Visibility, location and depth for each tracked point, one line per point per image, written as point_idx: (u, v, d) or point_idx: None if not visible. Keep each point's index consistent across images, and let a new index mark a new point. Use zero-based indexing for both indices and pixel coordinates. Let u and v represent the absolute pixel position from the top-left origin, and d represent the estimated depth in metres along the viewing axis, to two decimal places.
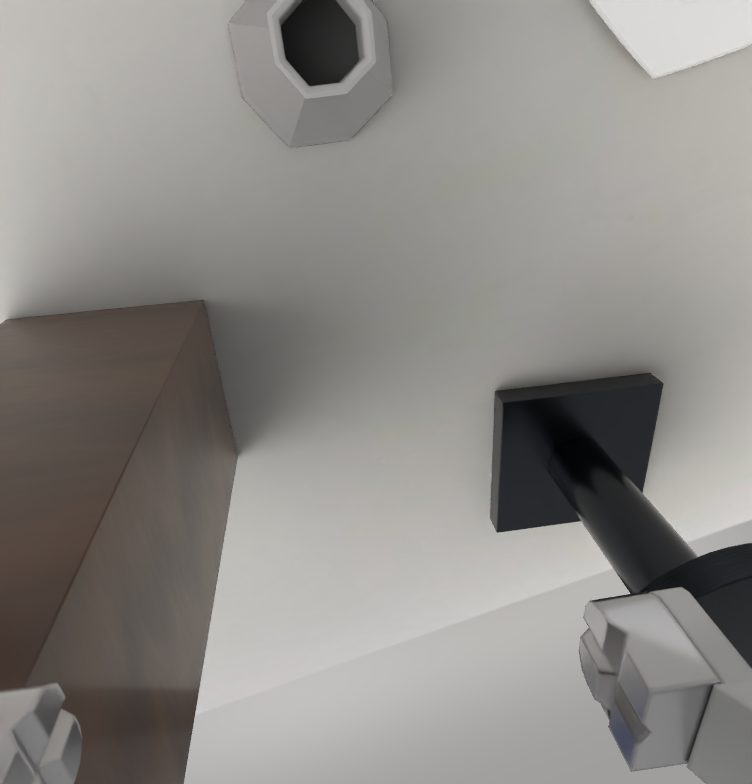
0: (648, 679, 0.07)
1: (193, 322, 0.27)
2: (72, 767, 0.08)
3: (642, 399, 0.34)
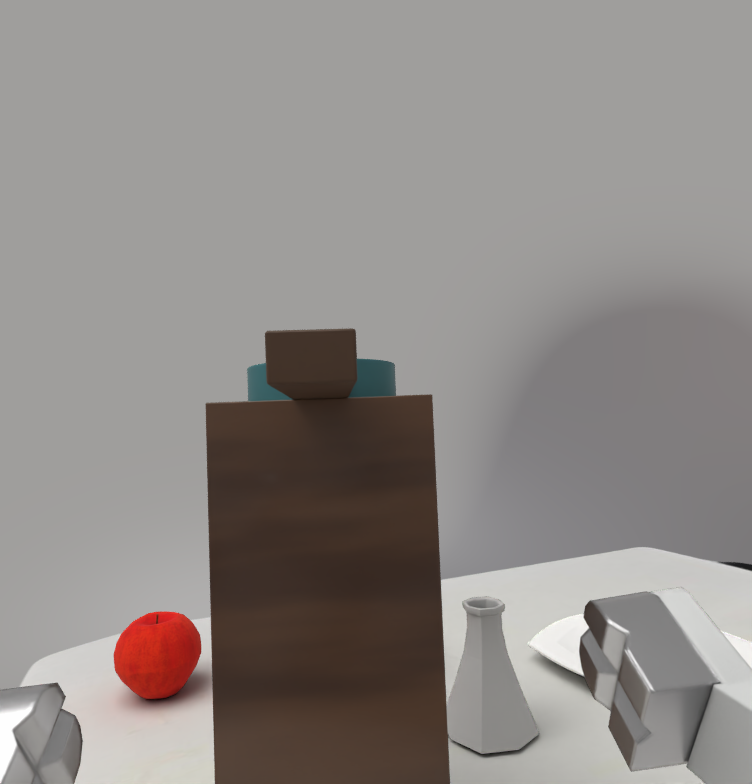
0: (648, 679, 0.07)
1: None
2: (72, 767, 0.08)
3: None
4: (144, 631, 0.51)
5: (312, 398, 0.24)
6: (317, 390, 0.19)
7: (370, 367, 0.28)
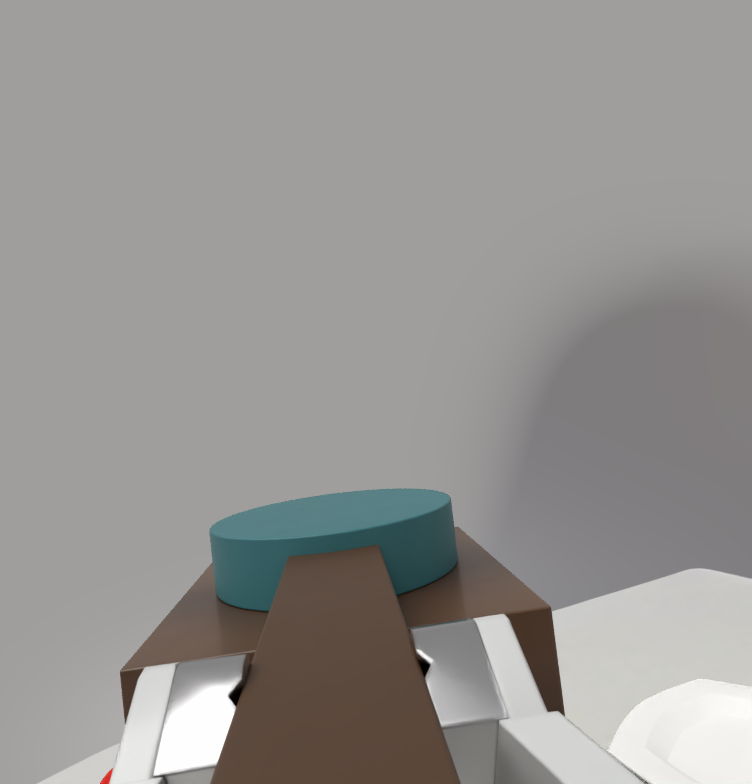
0: None
1: None
2: None
3: None
4: None
5: None
6: None
7: (418, 530, 0.16)
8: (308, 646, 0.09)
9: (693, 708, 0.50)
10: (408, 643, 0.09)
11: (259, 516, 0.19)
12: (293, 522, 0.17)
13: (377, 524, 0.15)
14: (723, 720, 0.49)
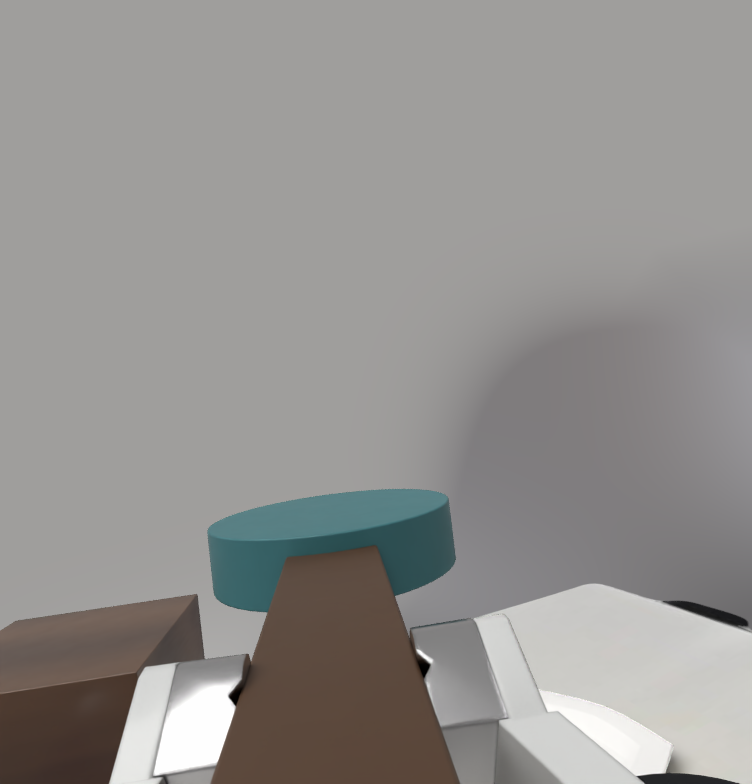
0: (436, 714, 0.07)
1: None
2: None
3: None
4: None
5: None
6: None
7: (416, 530, 0.16)
8: (306, 648, 0.09)
9: None
10: (407, 644, 0.09)
11: (257, 517, 0.19)
12: (291, 523, 0.17)
13: (375, 525, 0.16)
14: None
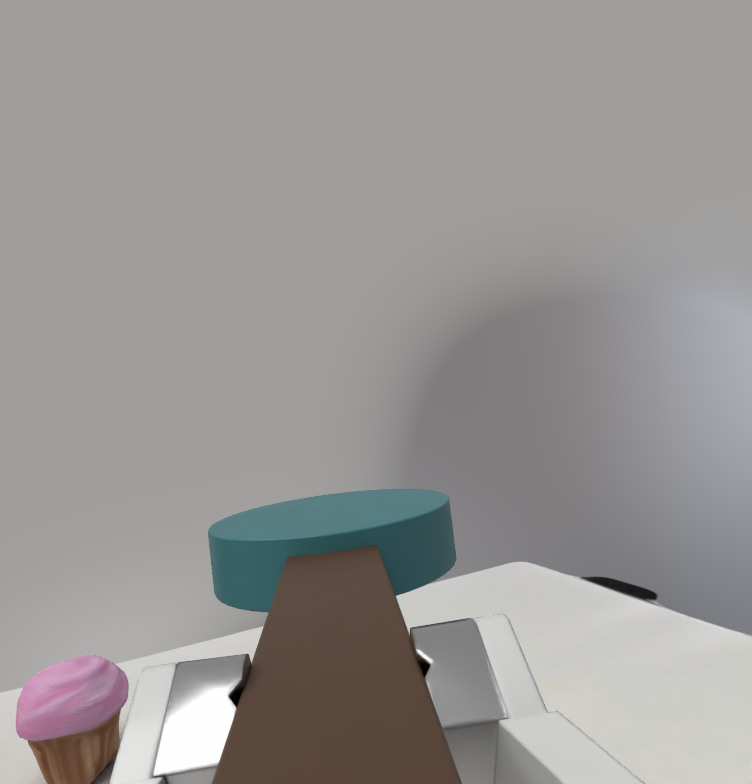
0: None
1: None
2: None
3: None
4: None
5: None
6: None
7: (417, 530, 0.16)
8: (308, 647, 0.09)
9: None
10: (408, 643, 0.09)
11: (258, 517, 0.19)
12: (292, 523, 0.17)
13: (376, 524, 0.16)
14: None
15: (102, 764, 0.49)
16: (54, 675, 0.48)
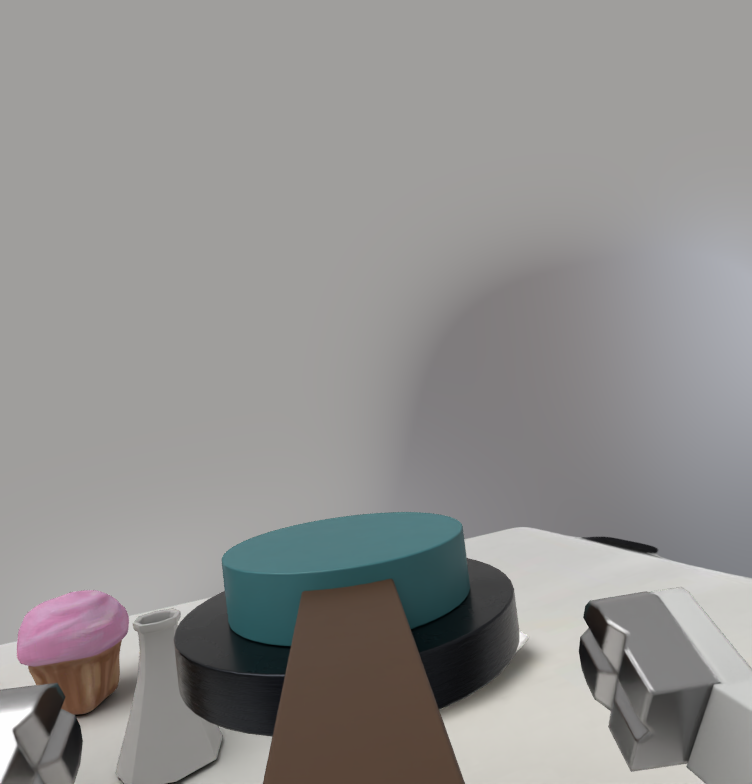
0: (648, 679, 0.07)
1: None
2: (72, 768, 0.08)
3: None
4: None
5: None
6: None
7: (432, 562, 0.16)
8: (331, 705, 0.09)
9: None
10: (432, 704, 0.09)
11: (270, 544, 0.19)
12: (306, 553, 0.17)
13: (391, 558, 0.15)
14: None
15: (102, 694, 0.49)
16: (55, 604, 0.49)
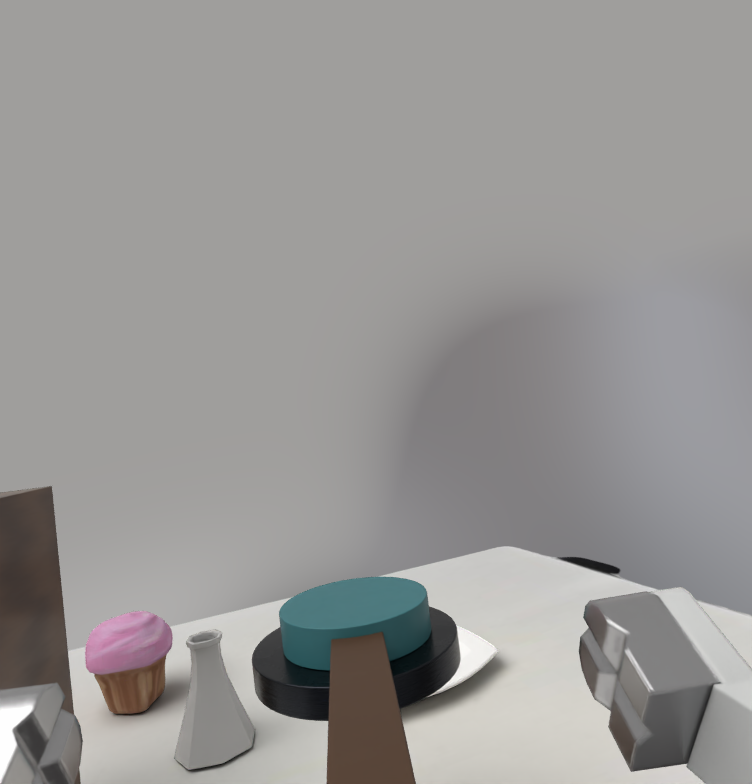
0: (648, 679, 0.07)
1: None
2: (72, 768, 0.08)
3: None
4: None
5: None
6: None
7: (405, 621, 0.28)
8: (352, 703, 0.20)
9: None
10: (396, 702, 0.20)
11: (307, 603, 0.31)
12: (331, 612, 0.29)
13: (381, 619, 0.27)
14: None
15: (153, 696, 0.61)
16: (115, 624, 0.60)
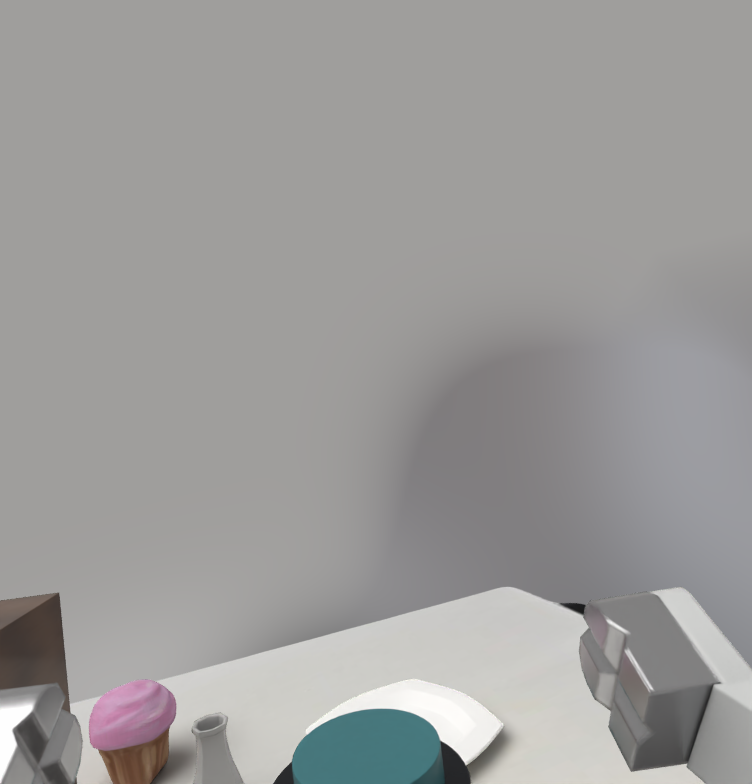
0: (648, 679, 0.07)
1: None
2: (72, 768, 0.08)
3: None
4: None
5: None
6: None
7: None
8: None
9: (389, 700, 0.69)
10: None
11: (320, 750, 0.31)
12: (345, 770, 0.29)
13: None
14: (406, 709, 0.67)
15: (157, 769, 0.61)
16: (119, 697, 0.60)
